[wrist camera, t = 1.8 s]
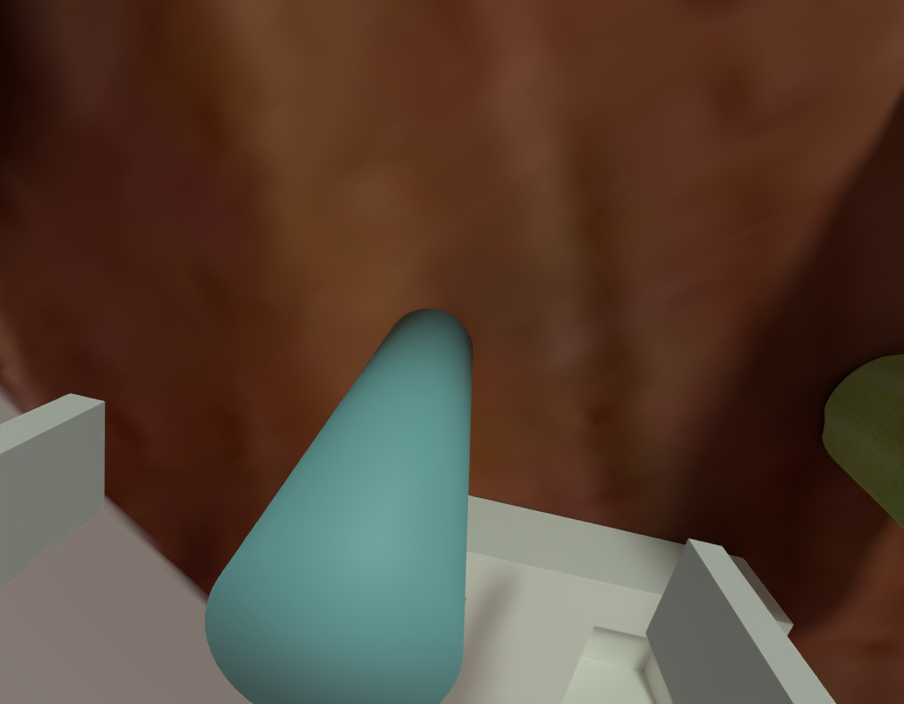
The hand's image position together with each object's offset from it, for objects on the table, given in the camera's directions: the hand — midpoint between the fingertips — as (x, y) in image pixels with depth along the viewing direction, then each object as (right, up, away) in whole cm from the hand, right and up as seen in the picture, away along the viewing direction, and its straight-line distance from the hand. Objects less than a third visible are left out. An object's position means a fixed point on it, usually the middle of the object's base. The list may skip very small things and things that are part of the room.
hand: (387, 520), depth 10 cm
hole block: (+5, -9, +15) cm, 18 cm away
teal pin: (0, +4, +11) cm, 12 cm away
